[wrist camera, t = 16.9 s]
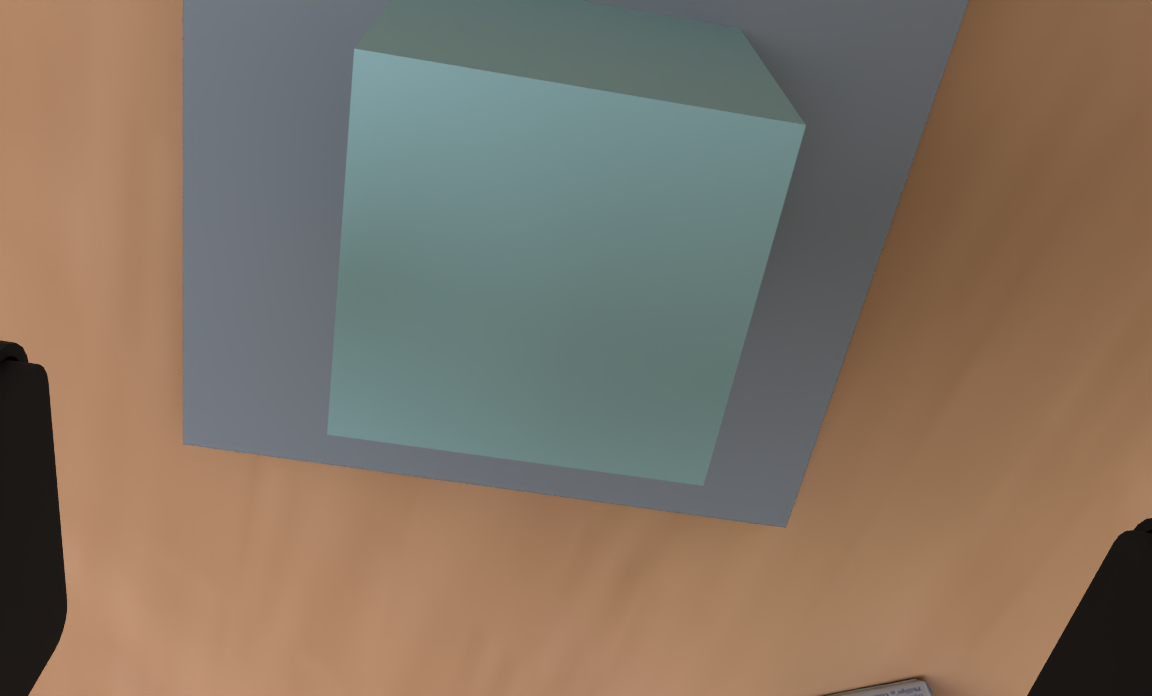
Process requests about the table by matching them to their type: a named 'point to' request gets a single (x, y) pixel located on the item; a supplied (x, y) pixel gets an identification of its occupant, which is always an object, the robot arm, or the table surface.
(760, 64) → the cube
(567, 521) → the table surface
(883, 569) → the table surface
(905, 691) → the medicine box
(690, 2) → the mat
